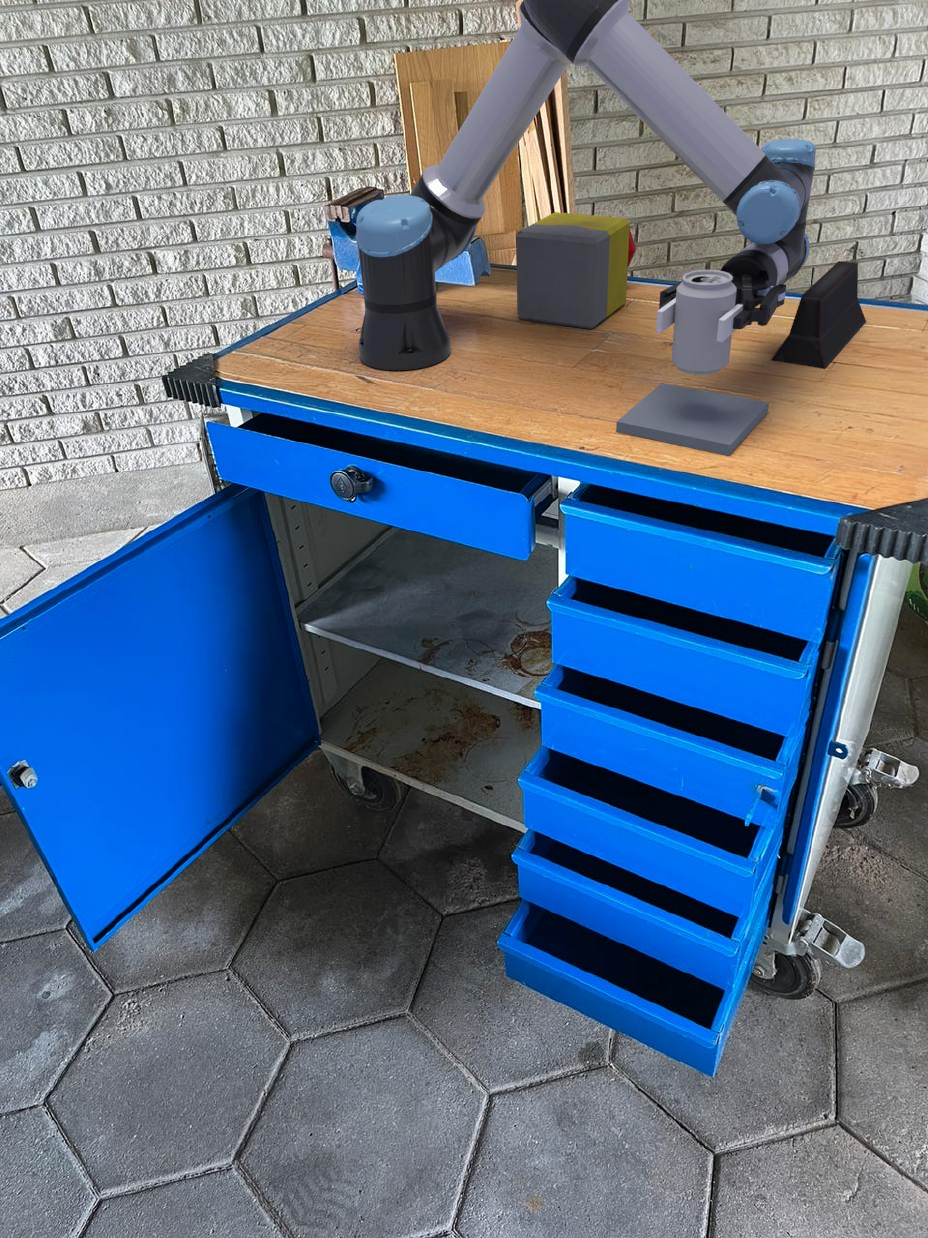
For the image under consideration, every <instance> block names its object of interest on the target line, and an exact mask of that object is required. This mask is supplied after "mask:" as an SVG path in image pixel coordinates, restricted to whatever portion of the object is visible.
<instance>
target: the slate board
mask: <svg viewBox="0 0 928 1238" xmlns="http://www.w3.org/2000/svg"><path fill="white" fill-rule="evenodd" d="M769 407H770V402H768V401H763V400H756V399H751V398H746V397H740V396H737V395H736V396H735V395H729V394H724V393H719V392H713V391H708V390H701V389H696V388H692V387H691V388H690V387H685V386H679V385H675V384H674V385H673V384H668V383H663V382H661V383H660V384H659V385H657V387H655V388H654V389H653V390H652V391H651V392H649V393H648V394H647V395H645V397H643V398H642V399H641V400H640V401H639V402H638V403H637V404H635V405H634V406H633V407H632V408H631V409H630V410H628V411H627V412H626V413H625V414H624V415H622V416H621V417H620V418H619V419H618V420H617V421H616V426H615V427H616V429H615V432H616V433H620V434H624V435H625V434H626V435H629V436H630V435H631V436H634V437H640V438H644V439H649V440H653V441H657V442H662V443H668V444H672V445H676V446H680V447H686V448H691V449H695V450H701V451H705V452H709V453H714V454H719V455H724V456H731V454H732V453H733V452H734V451H735V450H736V449H737V447H739V445H740V444H741V443H742V442H743V441H744V440H745V439H746V437H747V436H749V434H750V433H751V432H752V431H753V430H754V428H756V426H758V424H759V423H760V422H761V421H762V420H763V419H764V418H765V416H766V415H767V414H768V413H769Z"/></svg>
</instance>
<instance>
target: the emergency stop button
mask: <svg viewBox="0 0 928 1238" xmlns="http://www.w3.org/2000/svg"><path fill="white" fill-rule="evenodd" d="M630 226H631V222H630V221H629V220H628V219H627V218H626V217H617V216H615V217H614V216H611V215H608V216H605V215H604V216H603V215H593V214H581V213H580V214H579V213H571V212H569V213H567V212H557V211H555V212H553V213H551V214H549V215H547V216H545V217H544V218H541V219H540V220H538V221H536V222H534V223H532V224H530V225H528V226H527V227H524V228H522V229H521V230H519V231H518V232H517V233H516V235H515V252H516V253H515V254H516V257H515V260H516V261H515V262H516V307H517V308H516V310H517V316H518V318H519V319H520V320H521V321H522V320H524V321H530V322H531V321H532V322H538V323H545V324H552V325H557V326H558V325H559V326H567V327H574V328H580V329H581V328H582V329H587V330H592V329H593V328H595V327H596V326H597V325H599V324H600V323H601V322H603V321H604V320H605V319H606V318H608V317H609V316H611V315H612V314H613V313H614V312H616V311H617V310H618V309H619V308H621V307H622V306H623V305H624V304H625V303H627V287H628V269H629V267H630V265H631V263H632V260H633V258H634V255H635V253H636V252H637V248H636V245H635V244H636V243H635V242H634V238H633V236H632V235H633V234H632V232H631V228H630Z"/></svg>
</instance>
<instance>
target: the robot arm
mask: <svg viewBox="0 0 928 1238" xmlns="http://www.w3.org/2000/svg"><path fill="white" fill-rule="evenodd" d="M629 1H630V0H522V2H521V3H520V5H519V7H518V14H519V18H520V19H519V20H520V26H519V29H518V30H517V31H516V33H515V35H514V37H513V39H512V40H511V42H510V43H509V45H508V46H507V49H506V50H505V52H504V54H503V56H502V57H501V59H500V60H499V62H498V64H497V65H496V68H495V69H494V71H493V72H492V74H491V76H490V78H489V79H488V81H487V83H485V85H484V87H483V89H482V91H481V93H480V94H479V96H478V98H477V99H476V101H475V102H474V105H473V106H472V108H471V110H470V111H469V113H468V115H467V116H466V118H465V120H464V122H463V124H462V125H461V127H460V128H459V129H458V131H457V133H456V135H455V137H454V138H453V140H452V142H451V144H450V145H449V147H448V149H447V150H446V152H445V154H444V155H443V157H442V158H441V160H440V163H439V164H437V165H430V166H427V167H426V168H425V169H424V171H423V172H422V174H421V175H420V177H419V179H418V180H417V182H416V184H415V186H414V187H413V189H412V191H410V193H409V194H410V195H408V194H406V195H405V194H404V195H403V194H402V195H393V196H392V195H391V196H386V197H383V199H376V200H373V201H371V202H369V203H367V204H366V205H364V206H363V207H362V208H361V209H360V211H359V212H358V213H357V216H356V223H355V224H356V226H355V227H356V232H355V240H356V245H357V250H358V252H357V253H358V259H359V266H360V275H361V285H362V294H363V300H364V316H363V319H362V320H363V321H362V326H361V330H360V337H359V340H358V352H359V353H358V354H359V358H360V361H361V362H362V363H363V364H364V365H365V366H369V367H370V368H374V369H379V370H385V371H407V370H408V371H409V370H416V369H417V370H418V369H423V368H426V367H430V366H433V365H436V364H439V363H440V362H442V361H444V360H445V359H447V358H448V357H449V356H450V355H451V352H452V351H451V339H450V334H449V333H448V332H447V328H446V325H445V323H444V320H443V318H442V314H441V312H440V310H439V307H438V303H437V301H438V300H437V298H438V297H437V286H436V285H437V284H436V272H437V271H439V270H441V268H442V267H445V266H446V265H447V264H448V263H449V262H451V261H454V260H455V259H457V258H458V257H459V256H461V255H462V254H464V252H465V251H466V250H467V249H468V248H469V246H470V244H471V243H472V241H473V239H474V237H475V234H476V231H477V226H478V224H479V222H480V221H481V219H482V218H483V216H484V215H485V212H486V206H485V201H484V197H485V195H486V194H487V193H488V191H489V189H490V188H491V186H492V185H493V184H494V181H495V180H496V179H497V177H498V175H499V174H500V172H501V171H502V169H503V167H505V164H506V162H507V161H508V159H509V158H510V157H511V155H512V153H513V152H514V151H515V149H516V148H517V145H518V144H519V143H520V141H521V140H522V138H523V136H524V135H525V134H526V132H527V130H528V129H529V127H530V125H531V124H532V122H533V121H534V119H535V118H536V116H537V114H538V113H539V112H540V110H541V108H542V107H543V105H544V104H545V102H546V101H547V99H548V98H549V96H550V94H552V91H553V89H554V88H555V87H556V86H557V84H558V82H559V80H560V78H562V76H563V74H564V72H565V71H566V69H567V68H568V66H569V65H571V64H573V65H574V66H575V67H580V66H587V67H588V68H589V69H590V71H592V72H593V73H594V74H595V75H596V77H598V78H599V79H600V80H601V81H602V82H603V83H604V84H605V85H606V87H608V88H609V89H610V90H611V91H612V92H613V93H614V94H615V96H617V97H618V98H619V99H620V100H621V101H622V102H623V103H624V105H626V106H627V108H628V109H630V110H631V111H632V113H634V115H636V117H638V119H640V120H641V122H643V123H644V125H646V127H648V128H649V129H650V131H652V132H653V134H654V135H656V137H658V138H659V140H660V141H661V142H663V143H664V144H665V146H667V147H668V149H670V151H671V152H672V153H673V154H674V155H676V157H677V158H679V160H680V161H681V162H683V164H684V165H686V167H687V168H688V169H689V170H690V171H691V172H692V173H693V174H694V175H695V176H696V177H697V178H698V179H699V180H700V181H701V182H702V183H703V184H704V185H705V186H706V187H707V188H708V189H709V190H710V191H711V192H712V193H713V194H714V195H715V196H716V197H717V198H718V199H719V200H720V201H721V202H722V203H723V204H724V205H725V206H726V207H727V208H728V210H729V211H731V213H733V215H734V216H735V217H736V222H737V226H738V229H739V231H740V233H741V234H742V236H743V237H744V238H745V239H747V240H748V241H749V245H747V246H746V247H744V248H743V249H741V250H740V251H739V252H737V253H736V254H735V255H733V256H732V257H731V258H730V259H728V260H727V261H726V262H725V263H724V264H723V265H722V266H721V268H720V270H719V271H723V272H727V273H729V274H730V275H732V276H733V280H732V281H731V282H732V283H733V284H734V285H735V287H736V289H737V291H736V301H735V307H733V308H732V309H731V310H730V311H729V312H727V313H726V314H725V315H724V316H723V317H721V318H720V319H719V321H718V332H717V341H718V342H723V341H724V340H725V339H726V338H728V337H729V336H730V335H731V334H732V335H733V333H734V332H736V331H737V330H743V329H744V328H745V327H746V326H752V325H753V324H752V323H753V322H755V323H756V322H757V325H758V326H761V327H764V326H767V325H768V324H769V322H770V320H771V319H772V317H773V315H774V314H775V312H776V311H777V308H780V307H781V306H783V305H785V300H786V292H787V285H786V284H784V283H786V282H788V281H789V280H791V278H794V277H795V276H796V275H797V274H798V273H799V271H801V269H802V267H803V266H804V265H805V263H806V261H807V260H808V257H809V255H810V249H811V248H810V245H811V244H810V239H809V238H808V235H807V233H806V228H807V215H808V210H809V204H810V197H811V191H812V185H813V184H812V183H813V178H814V171H816V164H815V162H816V161H815V160H816V153H817V152H816V151H817V148H816V145H815V144H814V143H813V142H811V141H810V140H805V139H796V138H784V139H783V138H782V139H781V138H780V139H775V140H771V141H768V142H766V143H764V144H763V145H762V147H761V148H760V147H759V146H758V145H757V144H756V142H755V141H753V140H752V138H750V137H749V135H748V134H746V132H745V131H744V130H743V129H742V128H741V127H740V126H739V125H738V123H736V122H735V121H734V120H733V119H732V118H731V117H730V116H729V115H728V114H727V113H726V111H724V110H723V109H722V108H721V107H720V106H719V104H718V103H717V102H716V101H715V100H713V98H712V97H711V96H710V95H709V94H708V93H707V92H706V91H705V90H704V89H703V88H702V87H701V86H700V85H699V84H698V82H696V81H695V79H693V77H691V75H690V74H688V73H687V71H686V70H685V69H684V68H683V67H682V66H680V64H679V63H678V62H677V61H676V60H675V59H674V58H673V57H672V56H671V55H670V54H669V53H668V52H667V51H666V49H664V48H663V46H661V44H659V43H658V42H657V40H655V39H654V37H653V36H652V35H651V34H650V33H649V32H648V31H647V30H646V29H645V28H644V27H643V26H642V25H641V24H640V23H639V22H638V21H637V20H636V19H635V18H634V17H633V16H632V15H631V14H630V13H629V4H628V3H629ZM682 282H683V280H681V281H679V282H677V283H675V284H673V285H672V286H669V287H667V288H666V289H663V290H661V291H659V301H658V303H659V304H658V310H657V311H656V319H655V321H656V323H655V333H657V334H659V333H660V334H662V333H663V332H665V331H666V330H668V328H670V327H671V326H672V325H674V319H675V305H676V291H677V287H678V286H679V285H680V284H681V283H682ZM758 306H759V307H758Z"/></svg>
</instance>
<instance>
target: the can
mask: <svg viewBox="0 0 928 1238" xmlns="http://www.w3.org/2000/svg"><path fill="white" fill-rule="evenodd" d="M681 278H682V280H681V281H683V282H682V283H681V284H680V285H679V286H678V287H677V291H676V305H675V319H674V323H673V333H672V334H673V336H672V350H671V363H672V364H673V365H674V366H675V367H676V369H678V371H680V372H682V373H685V374H687V375H694V376H707V375H708V376H709V375H713V374H717V373H719V372H721V370H722V369H724V368H725V367H726V366H727V365H728V364H729V362H730V355H731V345H732V339H733V337H732V336H733V333H732V334H731V335H730V336H729V337H728V338H726V339H725V340H724V341H723V342H718V341H717V332H718V321H719V319H720V318H721V317H723V316H724V315H725V314H726V313H727V312H729V311H730V310H731V309H732V308H733V307H735V301H736V291H737V289H736V287H735V285H734V284H733V283H732V282H731V281H732V280H733V276H732V275H730V274H729V273H727V272H723V271H720V270H718V269H716V270H715V269H698V270H692V271H689V272H686V273H684V274H683V275H682V277H681Z"/></svg>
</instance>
